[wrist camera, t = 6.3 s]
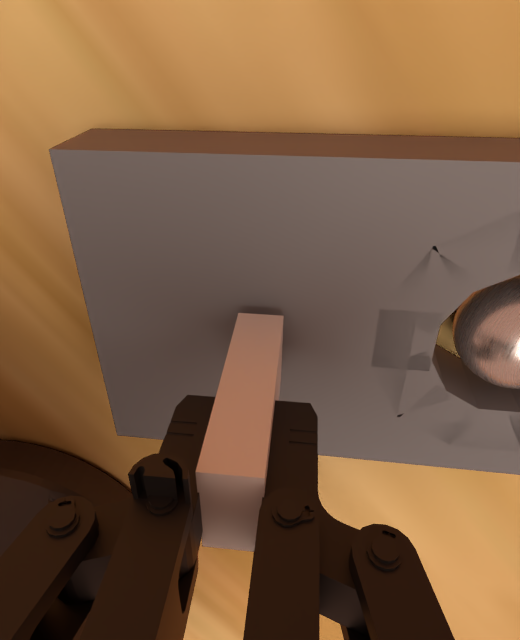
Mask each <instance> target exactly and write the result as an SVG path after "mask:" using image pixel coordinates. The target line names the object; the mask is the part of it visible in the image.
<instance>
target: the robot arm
mask: <svg viewBox="0 0 520 640" xmlns="http://www.w3.org/2000/svg"><path fill="white" fill-rule="evenodd" d="M283 318H284V316H281V315H265V314H249V313H238V316H237V320H236V324H235V328H234V331H233V335H232V339H231V342H230V346H229V350H228V353H227V357H226V361H225V364H224V368H223V372H222V376H221V379H220V383H219V387H218V390H217V394H216V397H212V396H199V395H187V396H186V397H185V398H184V399H183V400H182V401H181V402H180V403H179V404H178V405H177V406H176V408H175V410H174V413H173V416H172V419H171V423H170V424H169V427H168V430H167V434H166V435H165V438H164V440H163V443H162V446H161V449H160V451H159V454H153V455H150V456H147V457H145V458H143V459H141V460H140V461H139V462H137V463H136V464H135V465H134V466H133V467H132V469H131V470H130V472H129V473H128V476H129V481H130V485H131V490H132V494H131V493H130V492H129V491H128V490H127V489H126V488H125V487H123V486H122V485H121V484H119V483H118V482H117V481H115V480H114V479H113V478H111V477H110V476H108V475H107V474H105V473H103V472H102V471H100V470H98V469H96V468H95V467H93V466H91V465H89V464H87V463H85V462H83V461H81V460H79V459H76V458H74V457H72V456H69V455H67V454H64V453H61V452H58V451H55V450H52V449H49V448H45V447H42V446H38V445H33V444H28V443H23V442H16V441H5V440H0V640H183V638H184V633H185V628H186V624H187V619H188V614H189V610H190V605H191V600H192V596H193V591H194V586H195V582H196V577H197V573H198V550H199V546H200V541H201V537H202V546H205V547H215V548H224V549H234V550H244V551H253V552H254V557H253V565H252V573H251V581H250V589H249V598H248V606H247V614H246V622H245V630H244V638H243V640H319V614H321V615H323V616H325V617H327V618H329V619H331V620H333V621H335V622H337V623H339V624H340V625H341V629H342V633H343V637H344V640H455V639H454V637H453V635H452V632H451V630H450V628H449V625H448V623H447V621H446V618H445V616H444V614H443V612H442V609H441V607H440V605H439V602H438V600H437V598H436V595H435V593H434V591H433V589H432V586H431V584H430V582H429V579H428V577H427V575H426V572H425V570H424V568H423V565H422V563H421V561H420V559H419V556H418V554H417V552H416V549H415V548H414V546H413V545H412V543H411V542H410V540H409V539H408V537H406V536H405V535H404V534H403V533H401V532H400V531H399V530H398V529H395V528H393V527H390V526H388V525H383V524H372V525H369V526H366V527H363V528H362V529H361V530H358V529H356V528H353V527H351V526H348V525H346V524H344V523H342V522H340V521H338V520H336V519H334V518H333V517H332V516H331V515H330V514H328V513H327V512H326V510H325V509H324V508H323V506H322V504H321V502H320V500H319V496H318V416H317V414H316V413H315V411H314V409H313V407H312V405H311V403H303V402H290V401H279V393H280V383H281V365H282V341H283Z"/></svg>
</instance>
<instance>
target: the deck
mask: <svg viewBox="0 0 520 640" xmlns="http://www.w3.org/2000/svg"><path fill="white" fill-rule="evenodd" d="M49 152H50V156H51V160H52V164H53V168H54V172H55V177H56V181H57V185H58V189H59V193H60V198H61V202H62V206H63V210H64V214H65V219H66V223H67V227H68V231H69V235H70V239H71V244H72V248H73V252H74V256H75V260H76V265H77V269H78V273H79V277H80V281H81V286H82V290H83V294H84V298H85V302H86V306H87V311H88V315H89V319H90V323H91V327H92V332H93V336H94V340H95V344H96V348H97V352H98V357H99V361H100V365H101V369H102V373H103V378H104V382H105V386H106V390H107V394H108V399H109V403H110V407H111V411H112V415H113V419H114V424H115V428H116V432H117V435H120V436H130V437H140V438H151V439H161V440H164V438H165V435H166V434H167V430H168V427H169V424H170V423H171V419H172V416H173V413H174V410H175V408H176V406H177V405H178V404H179V403H180V402H181V401H182V400H183V399H184V398H185V397H186V396H187V395H199V396H212V397H216V394H217V390H218V387H219V383H220V379H221V376H222V372H223V368H224V364H225V361H226V357H227V353H228V350H229V346H230V342H231V339H232V335H233V331H234V328H235V324H236V320H237V316H238V313H249V314H265V315H281V316H284V318H283V341H282V365H281V383H280V393H279V401H290V402H303V403H311V405H312V407H313V409H314V411H315V413H316V414H317V416H318V455H323V456H334V457H344V458H354V459H364V460H374V461H384V462H395V463H405V464H415V465H425V466H435V467H445V468H456V469H466V470H476V471H486V472H496V473H506V474H517V475H520V389H511V388H505V387H501V386H497V385H494V384H492V383H489V382H487V381H485V380H483V379H482V378H480V377H479V376H477V375H476V374H475V373H473V372H472V371H471V370H470V369H469V368H468V367H467V366H466V365H465V363H464V362H463V361H462V359H460V358H458V357H456V356H455V355H453V354H451V353H449V352H448V351H446V350H444V349H443V348H441V347H439V346H438V345H436V340H437V336H438V332H439V328H440V325H441V324H442V323H443V322H444V321H445V320H446V319H447V318H448V317H449V316H450V315H451V314H452V313H453V312H454V311H455V310H456V309H457V308H458V307H459V306H460V305H461V304H462V303H463V302H464V301H465V300H466V299H467V298H468V297H469V296H470V295H471V294H472V293H473V292H475V291H478V290H481V289H483V288H486V287H489V286H491V285H494V284H497V283H499V282H502V281H505V280H507V279H510V278H513V277H515V276H518V275H520V138H491V137H446V136H401V135H356V134H311V133H266V132H220V131H175V130H130V129H90V130H88V131H86V132H84V133H82V134H80V135H78V136H76V137H73V138H71V139H69V140H67V141H65V142H63V143H61V144H59V145H57V146H55V147H53V148H50V149H49Z"/></svg>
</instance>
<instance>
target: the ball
mask: <svg viewBox="0 0 520 640" xmlns="http://www.w3.org/2000/svg"><path fill="white" fill-rule="evenodd" d="M453 339H454V344H455V347H456V350H457V352H458V354H459V356H460V358H461V359H462V361H463V362H464V363H465V365H466V366H467V367H468V368H469V369H470V370H471V371H472V372H473V373H475V374H476V375H477V376H479V377H480V378H482V379H483V380H485V381H487V382H489V383H492V384H494V385H497V386H501V387H505V388H511V389H520V275H518V276H515V277H513V278H510V279H507V280H505V281H502V282H499V283H497V284H494V285H491V286H489V287H486V288H483V289H481V290H478V291H475V292H473V293H472V294H471V295H470V296H469V297H468V298H467V299H466V300H465V301H464V302H463V303H462V304H461V305H460V306H459V307H458V309H457V311H456V314H455V317H454V321H453Z"/></svg>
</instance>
